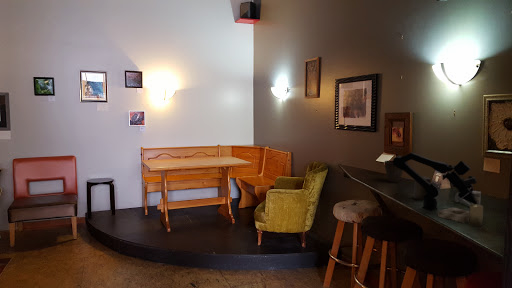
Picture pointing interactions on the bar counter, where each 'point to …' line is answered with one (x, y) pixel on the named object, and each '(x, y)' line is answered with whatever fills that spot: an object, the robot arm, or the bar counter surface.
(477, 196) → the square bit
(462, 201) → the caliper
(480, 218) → the beige rectangular block
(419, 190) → the pillar candle
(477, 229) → the bar counter surface
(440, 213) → the bore block
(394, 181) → the plant pot
